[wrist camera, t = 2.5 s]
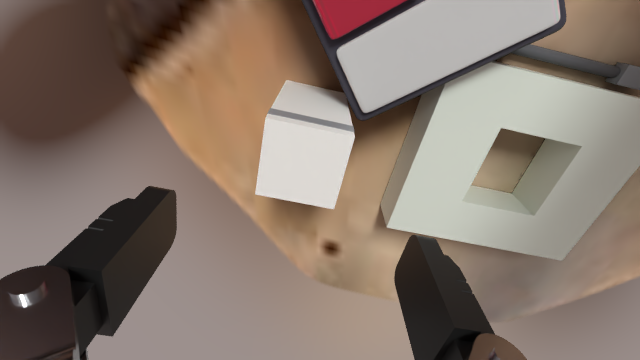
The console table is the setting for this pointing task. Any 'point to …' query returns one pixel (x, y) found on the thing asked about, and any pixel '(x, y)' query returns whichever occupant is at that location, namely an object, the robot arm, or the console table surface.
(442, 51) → the dark grey product box
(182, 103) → the console table surface
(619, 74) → the cable
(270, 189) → the white rectangular block
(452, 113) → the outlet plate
